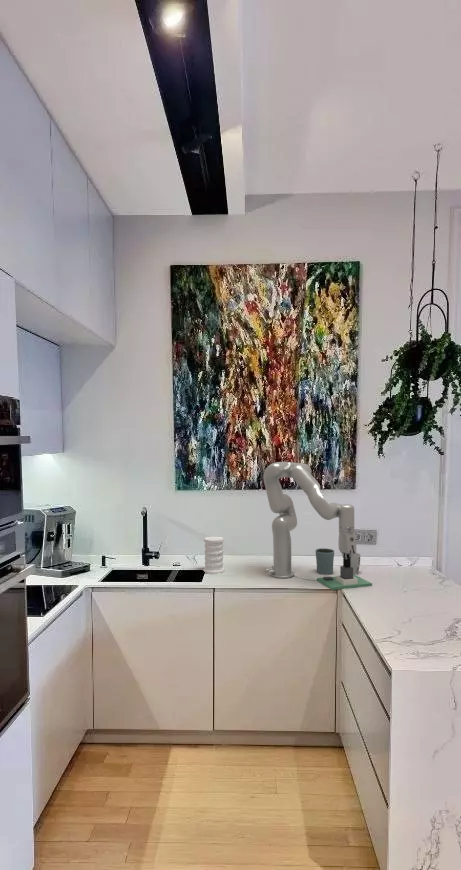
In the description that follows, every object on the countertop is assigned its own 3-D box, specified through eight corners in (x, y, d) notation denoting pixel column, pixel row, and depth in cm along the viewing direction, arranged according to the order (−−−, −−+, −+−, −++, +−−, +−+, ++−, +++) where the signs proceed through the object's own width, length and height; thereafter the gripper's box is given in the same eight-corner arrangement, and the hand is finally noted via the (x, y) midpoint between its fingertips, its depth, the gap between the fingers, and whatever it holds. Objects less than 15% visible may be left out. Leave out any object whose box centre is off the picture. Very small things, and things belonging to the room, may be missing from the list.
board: (331, 589, 228) (331, 582, 228) (316, 580, 243) (316, 573, 243) (372, 585, 234) (372, 578, 234) (354, 576, 249) (354, 569, 249)
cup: (361, 575, 252) (360, 556, 252) (345, 574, 254) (345, 555, 254) (360, 571, 260) (359, 552, 260) (344, 570, 262) (344, 552, 262)
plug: (345, 582, 233) (345, 568, 233) (340, 580, 237) (340, 565, 237) (354, 581, 234) (354, 567, 234) (349, 579, 239) (349, 565, 239)
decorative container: (199, 571, 260) (198, 538, 261) (213, 567, 269) (213, 535, 269) (214, 575, 253) (214, 541, 253) (228, 570, 262) (228, 538, 262)
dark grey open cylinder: (328, 569, 264) (328, 547, 264) (338, 574, 255) (338, 551, 255) (312, 571, 261) (312, 549, 261) (321, 575, 251) (321, 553, 251)
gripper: (361, 532, 230) (361, 570, 230) (345, 526, 244) (345, 562, 244) (347, 532, 228) (347, 571, 228) (332, 527, 242) (332, 563, 242)
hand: (346, 566), depth 236 cm, fingers closed
